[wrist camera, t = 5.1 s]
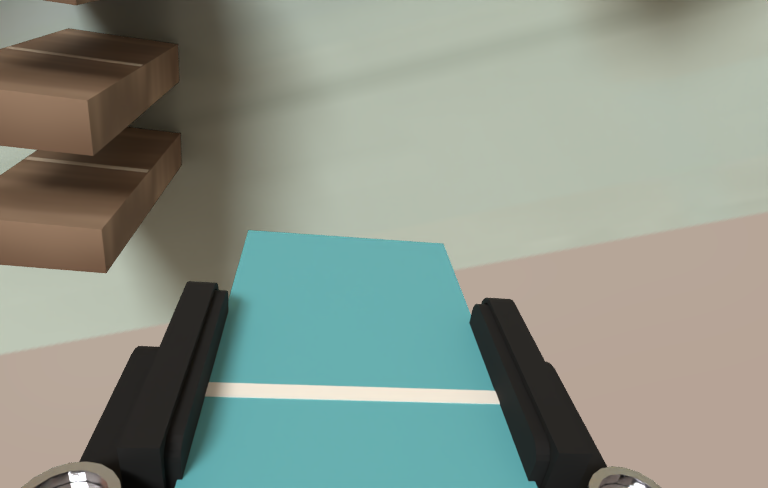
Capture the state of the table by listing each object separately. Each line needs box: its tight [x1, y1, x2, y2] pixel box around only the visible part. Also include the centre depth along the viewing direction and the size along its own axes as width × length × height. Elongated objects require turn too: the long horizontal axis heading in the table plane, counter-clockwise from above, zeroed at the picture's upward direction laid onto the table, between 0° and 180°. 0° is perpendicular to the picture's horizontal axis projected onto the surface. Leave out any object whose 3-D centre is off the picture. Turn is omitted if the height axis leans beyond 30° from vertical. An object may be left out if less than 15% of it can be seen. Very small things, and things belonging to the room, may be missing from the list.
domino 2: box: [0, 127, 182, 273], centre depth 23 cm, size 2×5×11 cm, turn 82°
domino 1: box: [0, 28, 179, 156], centre depth 21 cm, size 2×5×11 cm, turn 81°
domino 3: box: [175, 230, 537, 488], centre depth 9 cm, size 2×5×11 cm, turn 83°
